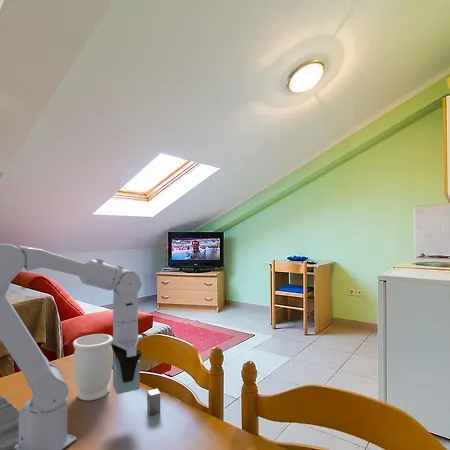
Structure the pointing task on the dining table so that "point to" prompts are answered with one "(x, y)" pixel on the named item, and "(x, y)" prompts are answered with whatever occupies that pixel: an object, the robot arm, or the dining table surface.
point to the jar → (93, 365)
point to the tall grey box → (118, 381)
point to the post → (153, 402)
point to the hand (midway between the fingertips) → (125, 376)
